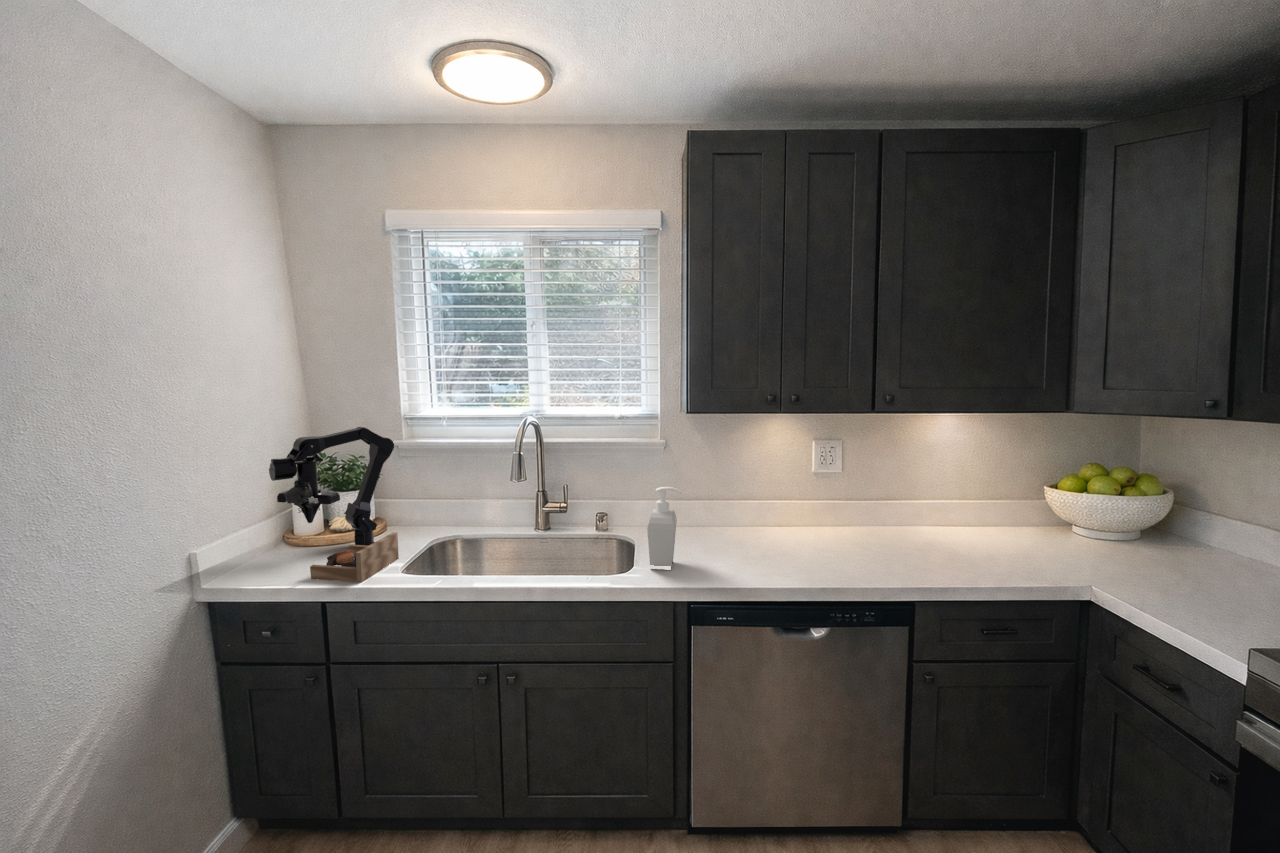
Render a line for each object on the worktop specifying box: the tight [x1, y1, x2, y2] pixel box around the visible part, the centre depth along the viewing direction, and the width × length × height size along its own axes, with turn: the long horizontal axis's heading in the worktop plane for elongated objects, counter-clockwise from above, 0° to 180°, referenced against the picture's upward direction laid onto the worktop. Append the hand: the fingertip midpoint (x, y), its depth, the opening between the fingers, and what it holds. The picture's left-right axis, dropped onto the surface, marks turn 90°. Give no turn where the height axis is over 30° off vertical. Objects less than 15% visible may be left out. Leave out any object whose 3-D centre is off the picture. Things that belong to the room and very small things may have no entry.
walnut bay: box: [309, 531, 400, 583], centre depth 195 cm, size 21×16×9 cm
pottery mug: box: [325, 549, 356, 567], centre depth 192 cm, size 12×10×8 cm
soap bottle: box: [646, 486, 682, 567], centre depth 198 cm, size 12×10×26 cm
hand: (310, 522), depth 203 cm, fingers closed
